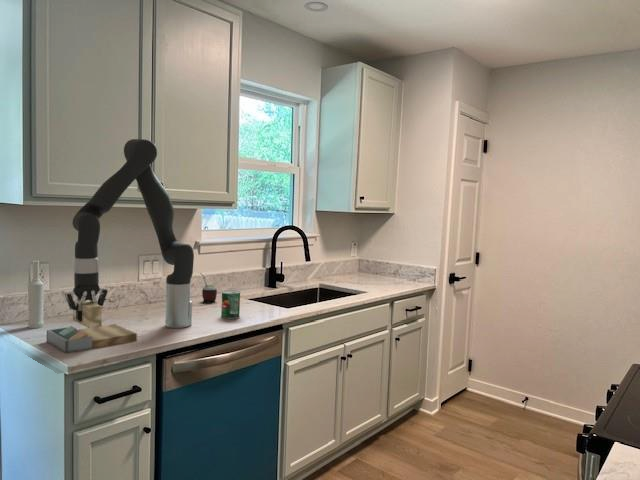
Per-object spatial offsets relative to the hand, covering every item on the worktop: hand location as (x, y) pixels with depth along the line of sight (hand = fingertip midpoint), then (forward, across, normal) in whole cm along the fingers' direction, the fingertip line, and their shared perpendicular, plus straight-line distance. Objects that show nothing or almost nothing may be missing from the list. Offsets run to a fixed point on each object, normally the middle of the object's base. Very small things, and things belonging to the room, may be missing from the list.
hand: (86, 319), depth 171 cm
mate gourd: (+9, -71, -32) cm, 79 cm away
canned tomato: (+9, -62, -1) cm, 62 cm away
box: (+8, +6, 0) cm, 10 cm away
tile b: (+6, +4, +5) cm, 9 cm away
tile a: (+6, +4, -4) cm, 8 cm away
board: (+8, -6, 0) cm, 10 cm away
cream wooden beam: (+1, 0, 0) cm, 1 cm away
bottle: (+8, +7, -31) cm, 32 cm away
